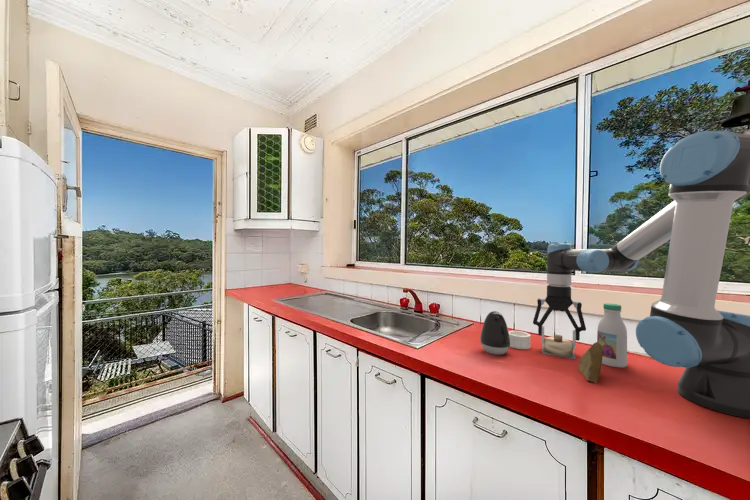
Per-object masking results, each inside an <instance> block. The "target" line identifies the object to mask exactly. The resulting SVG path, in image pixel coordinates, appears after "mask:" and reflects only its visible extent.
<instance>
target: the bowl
mask: <svg viewBox="0 0 750 500" xmlns="http://www.w3.org/2000/svg"><path fill="white" fill-rule="evenodd" d="M508 331H509V336H510V346H509V348H514V349H518V350H529V349H531V334H530V333H528V332H525V331H521V330H508Z"/></svg>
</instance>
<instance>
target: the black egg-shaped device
mask: <svg viewBox="0 0 750 500" xmlns="http://www.w3.org/2000/svg"><path fill="white" fill-rule="evenodd" d="M509 331H510V330H509V328H508V325H507V322H506V320H505V318H504V316H503V314H502V313H500V312H499V311H496V310H494V311H490V312H489V313H488V314H487V315H486V317H485V319H484V321H483V325H482V327H481V332H480V337H479V341H480V344H481V347H482V349H483V350H484V351H485V352H487V353H488V354H490V355H497V356H501V355H504V354H506V353H507V352H508V350H509V348H510V336H509Z"/></svg>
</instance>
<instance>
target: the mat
mask: <svg viewBox="0 0 750 500" xmlns="http://www.w3.org/2000/svg"><path fill="white" fill-rule="evenodd" d="M541 346H542V347H541V353H542V355H549V356H553V357H561V358H566V359H571V360H576V359H577V358H576V354H575V350H573V355H572V356H568V357H565V356H557V355H553V354H550V353H547V352H545V351H544V345H542V344H541Z"/></svg>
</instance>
